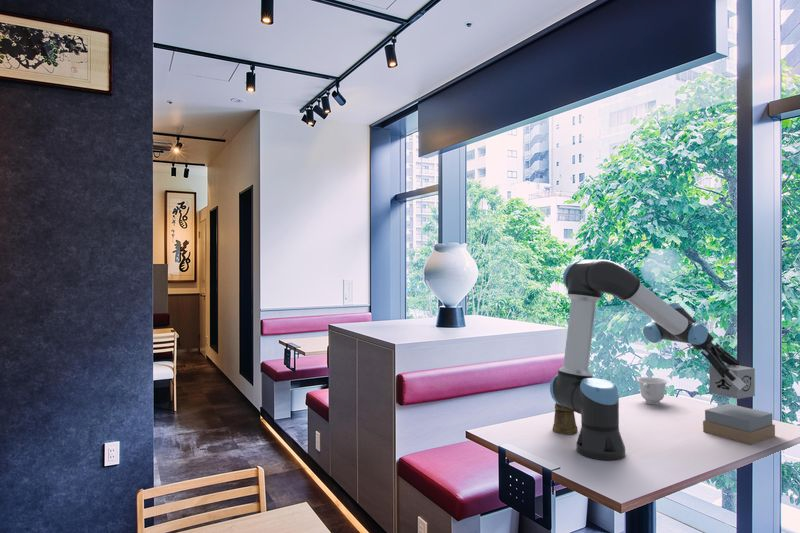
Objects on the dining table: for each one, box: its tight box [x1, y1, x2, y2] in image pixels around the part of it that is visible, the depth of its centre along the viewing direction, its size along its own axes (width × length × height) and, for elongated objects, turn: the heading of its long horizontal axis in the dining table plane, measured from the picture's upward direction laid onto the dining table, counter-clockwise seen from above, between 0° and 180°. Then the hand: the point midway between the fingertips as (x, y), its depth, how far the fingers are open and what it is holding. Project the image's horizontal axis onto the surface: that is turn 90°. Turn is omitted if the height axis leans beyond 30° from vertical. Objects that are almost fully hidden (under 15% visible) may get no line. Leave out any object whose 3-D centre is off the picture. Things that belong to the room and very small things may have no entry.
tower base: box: [702, 403, 776, 446], centre depth 182 cm, size 16×16×8 cm
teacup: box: [636, 376, 668, 405], centre depth 223 cm, size 12×15×10 cm
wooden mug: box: [552, 402, 578, 435], centre depth 192 cm, size 9×14×18 cm, turn 128°
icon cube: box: [708, 363, 756, 400], centre depth 184 cm, size 10×10×10 cm
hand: (747, 384), depth 180 cm, fingers closed on icon cube, 10 cm apart
